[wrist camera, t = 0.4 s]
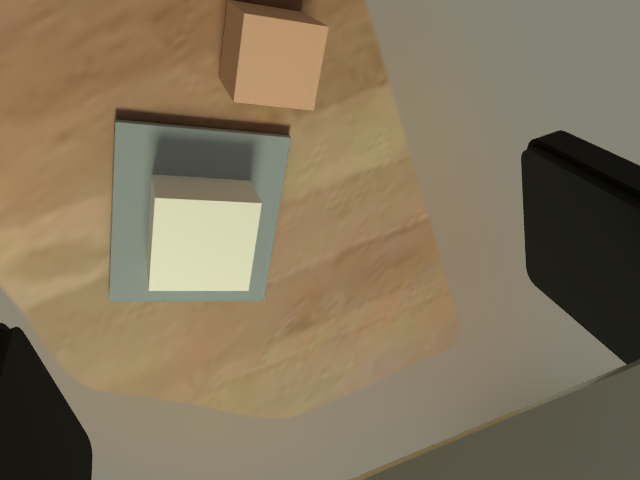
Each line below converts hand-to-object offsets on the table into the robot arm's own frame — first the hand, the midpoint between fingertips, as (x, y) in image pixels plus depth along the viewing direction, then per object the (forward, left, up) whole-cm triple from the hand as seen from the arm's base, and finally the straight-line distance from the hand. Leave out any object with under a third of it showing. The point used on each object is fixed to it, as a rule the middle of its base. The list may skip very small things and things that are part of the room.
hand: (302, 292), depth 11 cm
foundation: (+14, +3, -32) cm, 35 cm away
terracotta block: (+1, +6, -32) cm, 33 cm away
